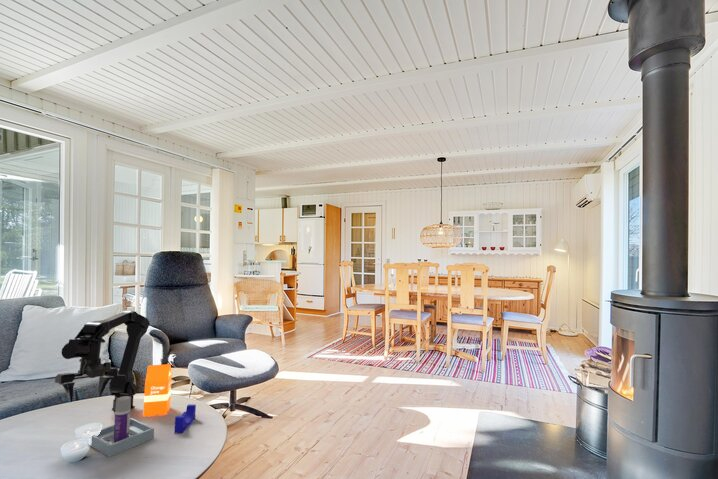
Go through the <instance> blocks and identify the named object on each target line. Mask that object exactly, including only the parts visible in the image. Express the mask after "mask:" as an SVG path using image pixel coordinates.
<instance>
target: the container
mask: <svg viewBox="0 0 718 479" xmlns="http://www.w3.org/2000/svg"><path fill="white" fill-rule="evenodd" d="M130 408H131V397H130V396H123V397H120V398H117V399H116V409H115V412H114V424H113V425H114V438H113V443H116V442H118V441H121V440H123V439H126V438H128V437H130V433H129V428H130V419H131V409H130Z"/></svg>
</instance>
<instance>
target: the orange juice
mask: <svg viewBox="0 0 718 479" xmlns="http://www.w3.org/2000/svg"><path fill="white" fill-rule="evenodd" d="M146 370H147V371H146V374H145V375H146V377H145V381H144V396H143V414H142V415H143V418H146V417H145V416H149V417H156V416H155V415H159V416H167V415H168V413H169V411H170V408H171V396H172V394H171V393H172V374H173V373H172V367H171V363H170V364H169V363H167V364H153V365H147V369H146ZM167 412H168V413H167Z"/></svg>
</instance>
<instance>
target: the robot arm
mask: <svg viewBox="0 0 718 479" xmlns="http://www.w3.org/2000/svg"><path fill="white" fill-rule="evenodd" d="M123 324H124V325H125V326H126V330H125V331H126V334H127V336H128V337H127V340H126V344H125V347H124V352H123V356H122V359H121V362H120V366H119V369H118V367H112V363H111V362H110V361H107V362H106V361H105V362H104V363H102V358H101V356H100V355H101V349H102V348H101V347H102V343H103V344H104V343H106V339H104V338H103V337H105V336H106V335H108V334H109V333H110V331H111V330H112V329H114V328H116V327H119V326H121V325H123ZM149 326H150V321H149V318H148V317H146V316H144V315H142V314H139V313H137V312H136V311H134V310H127V309H125V310H123V311H121V312H119V313H117V314H115V315H112V316H109V317H107V318H105V319H102V320H94V321H88V322H87V323H84V325H83V327H82V328H81V329H80V331H79V332H78V333H77V334H76V336H75V337H74V338H69V340H68V342H67V343H65V344H64V346H63V347H62V349H61V356H62V357H63V358H64V359H66V360H70V359H78V358H79V363H80V365H79V369H78V371H77V373H74V372H73V373H71V372H65V373H58V374H57V375H56V376H55V379H54V383H56V384H59V385H62V387H63V389H64V391H65V393H66V396H67V399H68V401H69V402H70V403H72V402H73V399H74V398H73V397H74V386H75V384H76V382H74V380H79V379H88V378H89V379H94V378H98V377H99V378H98V389H97V397H99V398H100V397H101V396H102V394H103V393H104V390H105V388H106V387H107V385H109V386H108V387H109V388H108V389H109V391H110V395H111V396H114V399H113V402H112V408H111V410H113V411H115V409H116V399H117V398H120V397H123V396H130V397H131V408H130V410H132V409H135V407H136V406H135V405H134V396H135V395H137V393H138V390H139V387H138V386H137V385H136V384H135V376H134V373H133V370H134V369H133V368H134V365H135V361H136V357H137V353H138V352H139V346H140V342H141V339H142V338H143V336H144V335H146V333H147V331H148V330H149V329H148V328H149ZM108 383H109V384H108Z"/></svg>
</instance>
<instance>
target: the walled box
mask: <svg viewBox="0 0 718 479" xmlns="http://www.w3.org/2000/svg"><path fill="white" fill-rule="evenodd" d="M101 429H102V430H101V432H100V434H99V435H98V436H95V435H93V436H92V446H91V448H94V449H95V450H96V451H98V452H101V453H102V454H103V455H105V456H107V457H112V456H114V455H117V454H119V453H122V452H123V451H124V452H125V451H127V450H128V449H130V448H133V447H135V446H138V445H140V444H142V443H144V442H147V441H149V440H152V439H154V437H155V428H154V427H153V426H151V425H149V424H146V423H144V422H142V421H140V420H138V419H135V418H133V417H130V428H129V435H131V436H129V437H128V438H126V439H123V440H121V441H118V442H116V443H114V442H113V443H111V442H109V440H112V439H114V424H112V425H109V426H106V427H103V428H101Z"/></svg>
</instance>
